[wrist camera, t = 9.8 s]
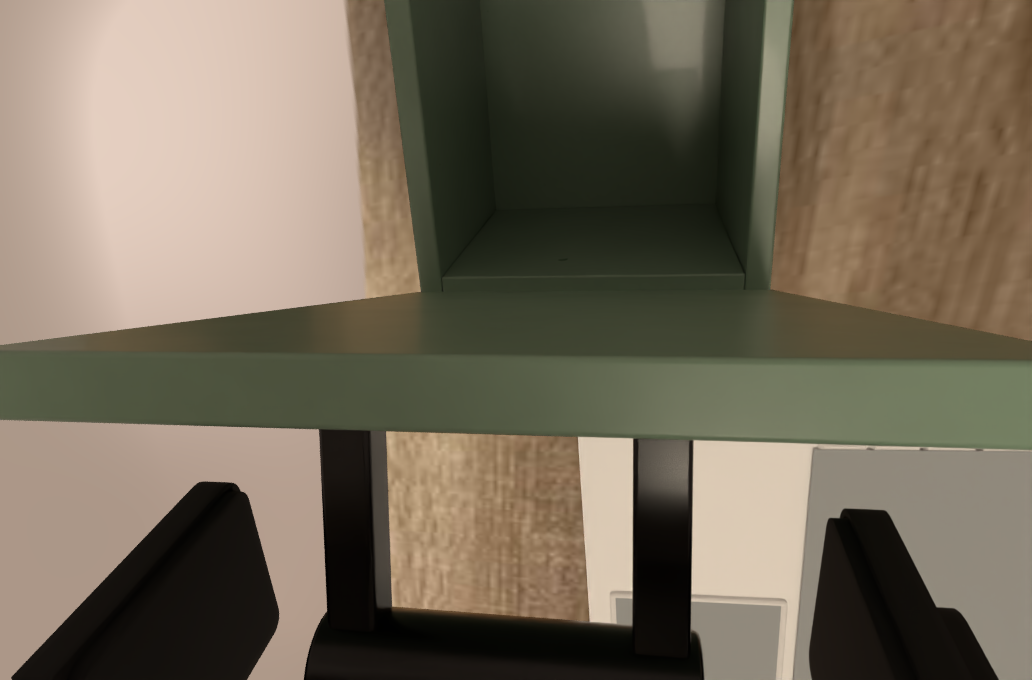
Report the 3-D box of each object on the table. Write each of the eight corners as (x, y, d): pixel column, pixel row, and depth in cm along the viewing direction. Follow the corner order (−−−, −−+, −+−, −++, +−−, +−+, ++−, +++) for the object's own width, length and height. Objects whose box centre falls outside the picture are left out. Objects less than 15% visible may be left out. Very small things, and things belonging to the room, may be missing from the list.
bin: (451, -162, 28) (349, -265, 18) (754, -200, 26) (823, -339, 16) (484, 222, 34) (420, 299, 24) (731, 216, 32) (770, 297, 22)
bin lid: (-45, 349, 8) (0, 796, 8) (1140, 360, 6) (1092, 951, 6) (417, 292, 24) (421, 446, 24) (773, 289, 22) (768, 458, 22)
